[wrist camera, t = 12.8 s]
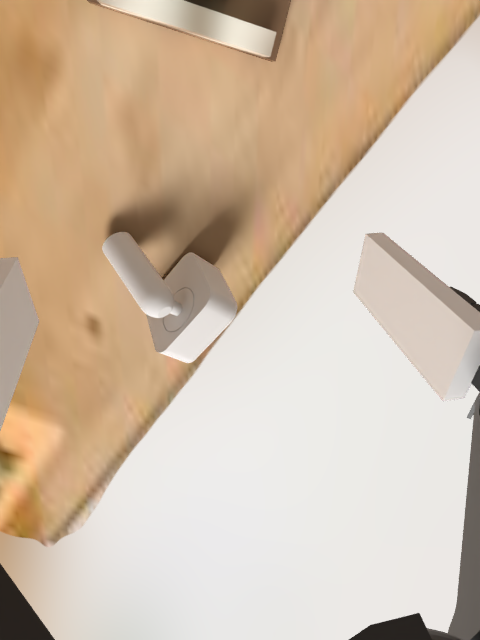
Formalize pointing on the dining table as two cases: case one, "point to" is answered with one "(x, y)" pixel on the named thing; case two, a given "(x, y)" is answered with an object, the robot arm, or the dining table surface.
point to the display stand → (215, 20)
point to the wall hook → (174, 298)
